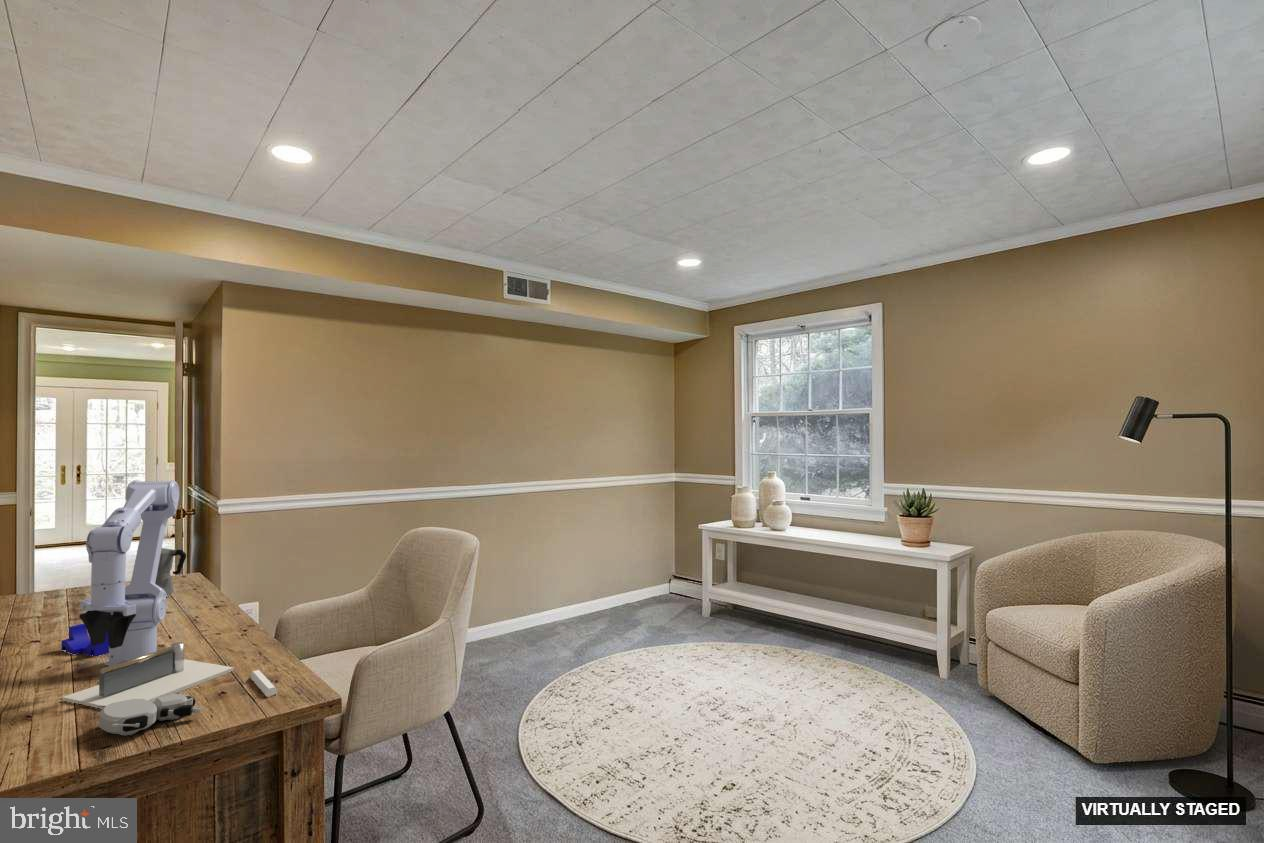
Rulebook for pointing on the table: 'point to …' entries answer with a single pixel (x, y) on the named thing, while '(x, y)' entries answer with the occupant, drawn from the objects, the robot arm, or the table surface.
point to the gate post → (178, 657)
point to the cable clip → (83, 642)
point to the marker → (263, 683)
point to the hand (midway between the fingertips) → (107, 645)
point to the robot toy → (144, 713)
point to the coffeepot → (168, 568)
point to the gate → (135, 671)
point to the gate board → (154, 685)
